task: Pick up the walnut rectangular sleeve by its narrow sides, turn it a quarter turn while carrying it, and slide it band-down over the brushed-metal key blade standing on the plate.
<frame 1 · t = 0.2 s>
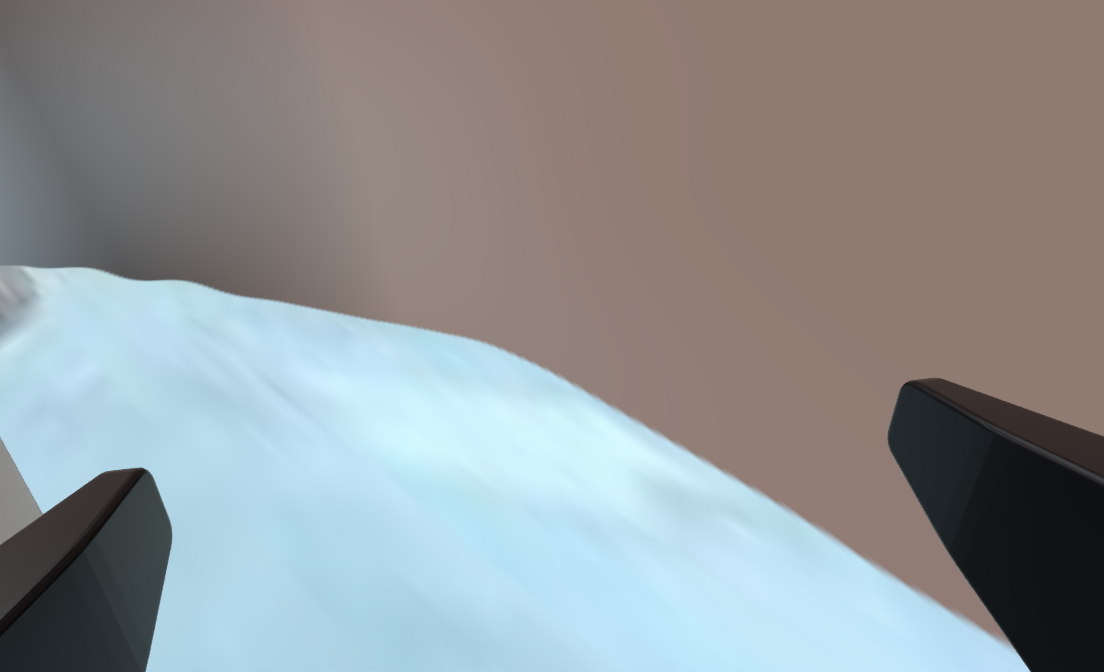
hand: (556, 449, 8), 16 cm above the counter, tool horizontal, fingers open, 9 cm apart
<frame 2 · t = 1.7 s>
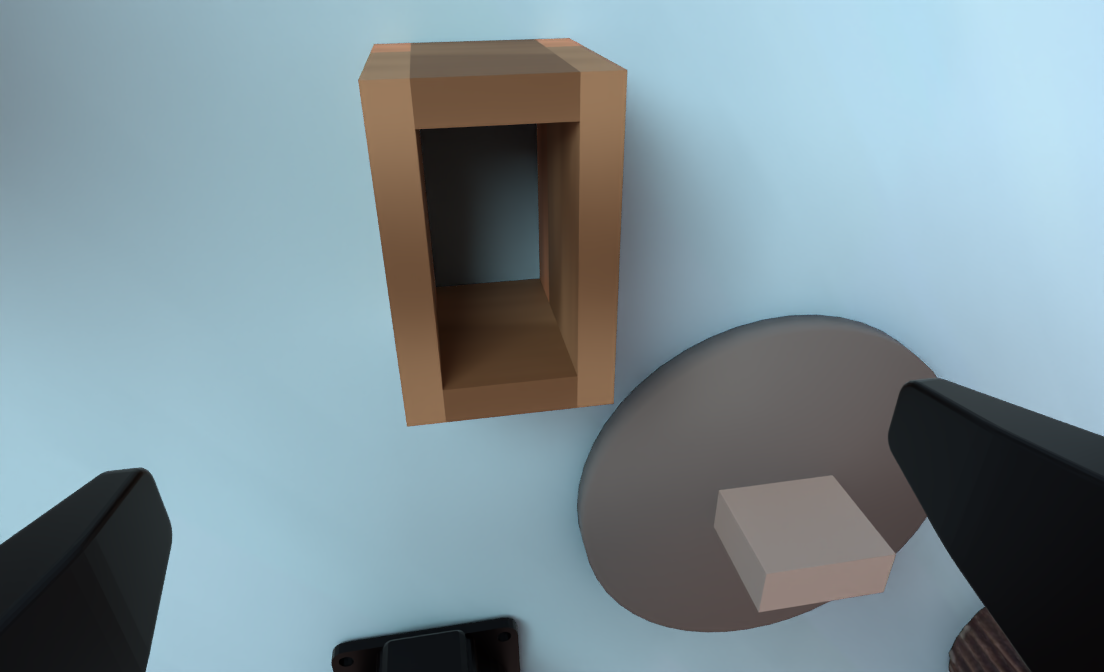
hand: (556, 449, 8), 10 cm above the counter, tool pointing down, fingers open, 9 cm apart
walnut sleeve: (482, 188, 17), on the counter
cupcake: (1023, 628, 32), on the counter
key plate: (759, 481, 24), on the counter
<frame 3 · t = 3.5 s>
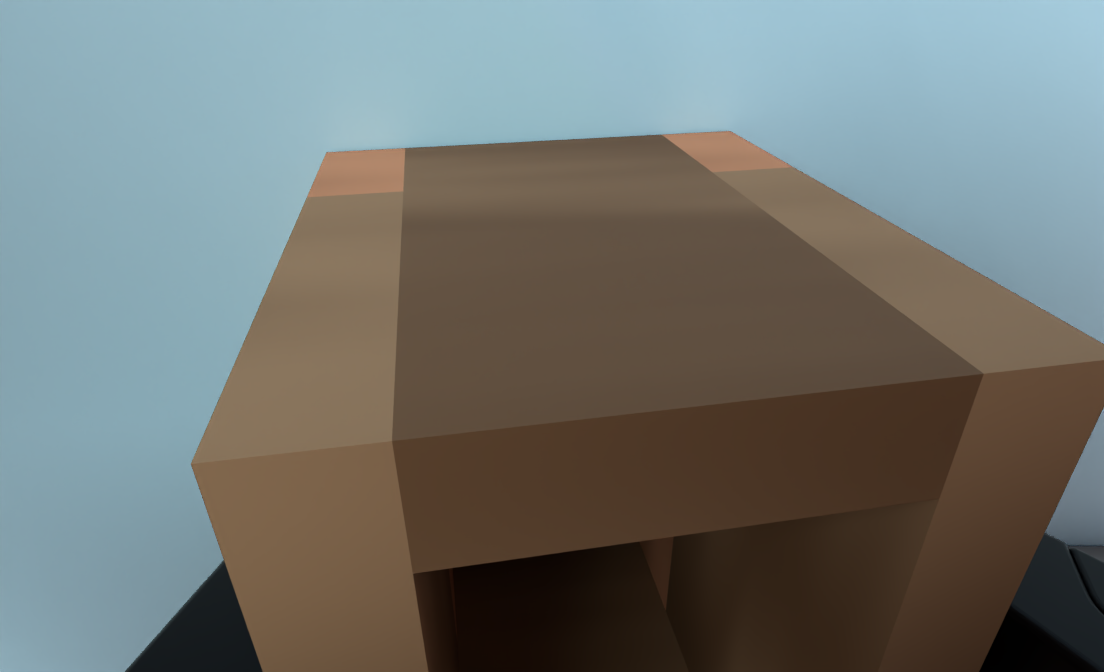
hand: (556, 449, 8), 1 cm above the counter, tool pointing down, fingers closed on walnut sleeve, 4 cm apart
walnut sleeve: (542, 400, 9), on the counter, touching gripper
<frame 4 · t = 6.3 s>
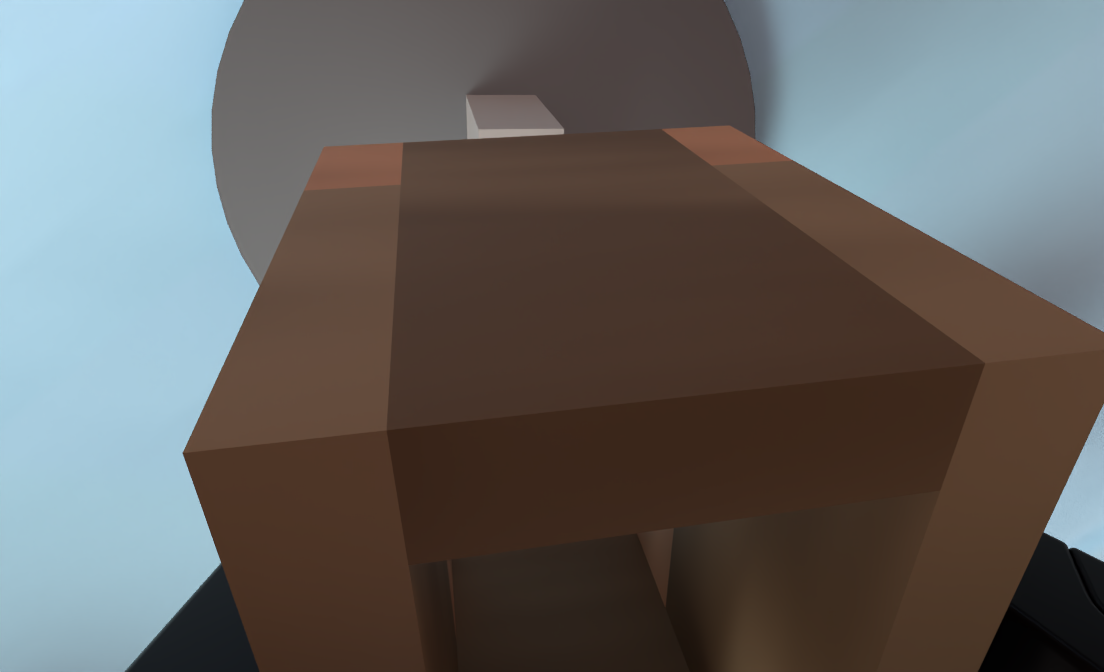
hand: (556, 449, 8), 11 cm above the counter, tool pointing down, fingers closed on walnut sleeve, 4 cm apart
walnut sleeve: (541, 397, 9), point 10 cm above the counter, touching gripper
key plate: (497, 169, 18), on the counter
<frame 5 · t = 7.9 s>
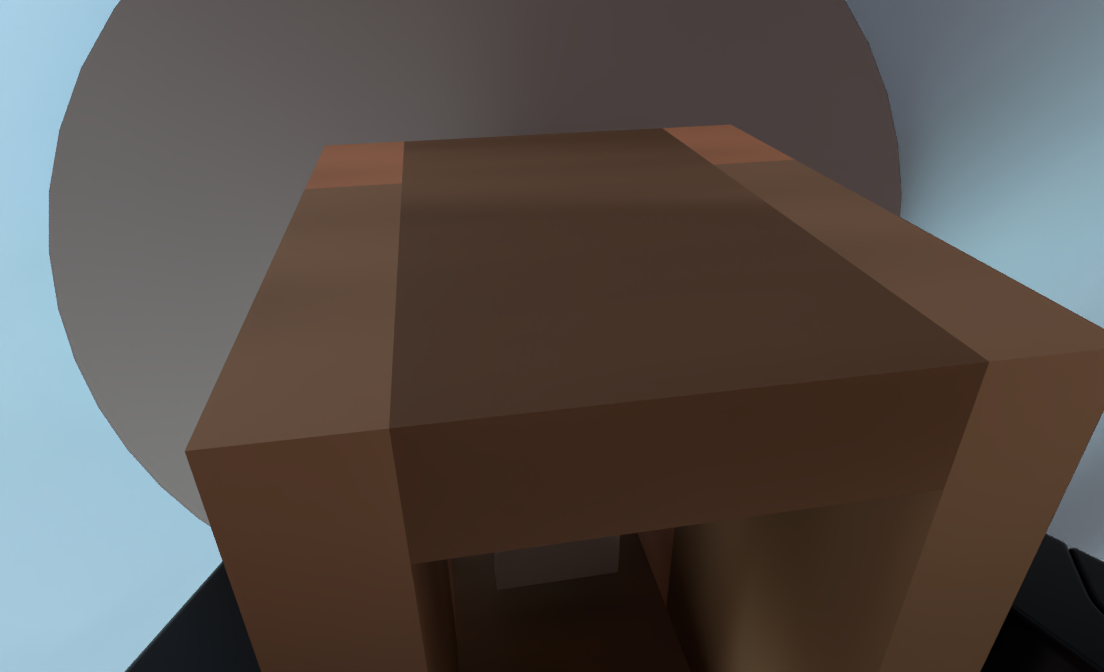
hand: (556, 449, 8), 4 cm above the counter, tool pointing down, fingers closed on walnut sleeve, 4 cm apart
walnut sleeve: (542, 396, 9), point 3 cm above the counter, touching gripper
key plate: (510, 293, 12), on the counter
when the fingers open (3 cm above the counter, at t = 9.2 s): walnut sleeve drops 1 cm, resting on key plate.
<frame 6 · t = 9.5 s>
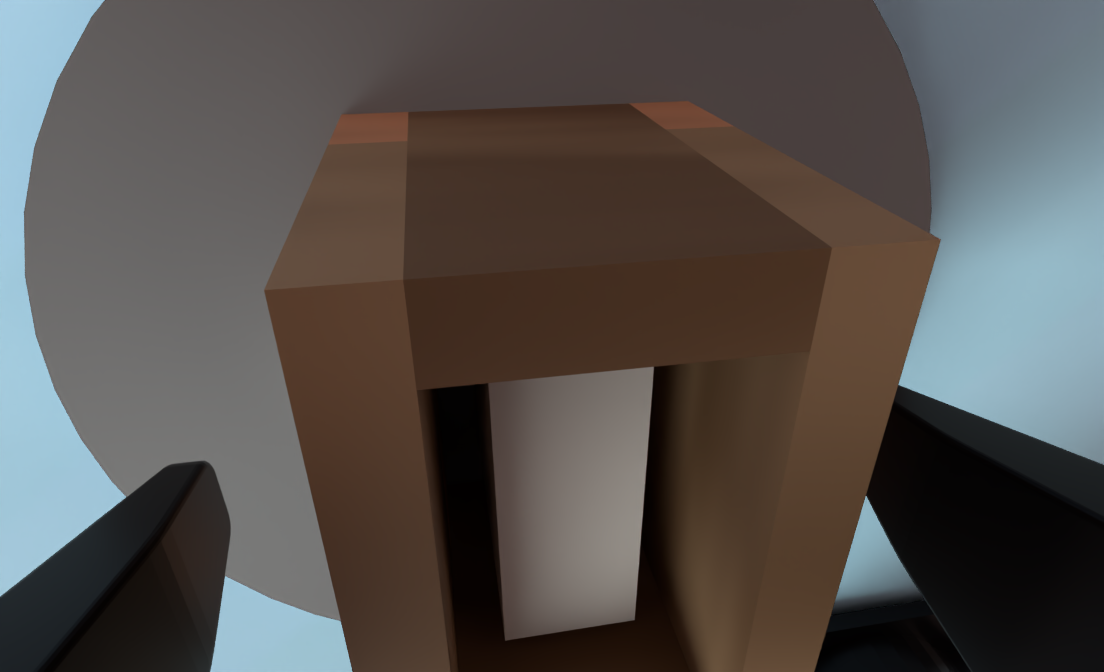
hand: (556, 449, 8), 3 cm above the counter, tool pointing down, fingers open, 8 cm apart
walnut sleeve: (527, 341, 10), point 1 cm above the counter, touching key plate
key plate: (517, 314, 11), on the counter
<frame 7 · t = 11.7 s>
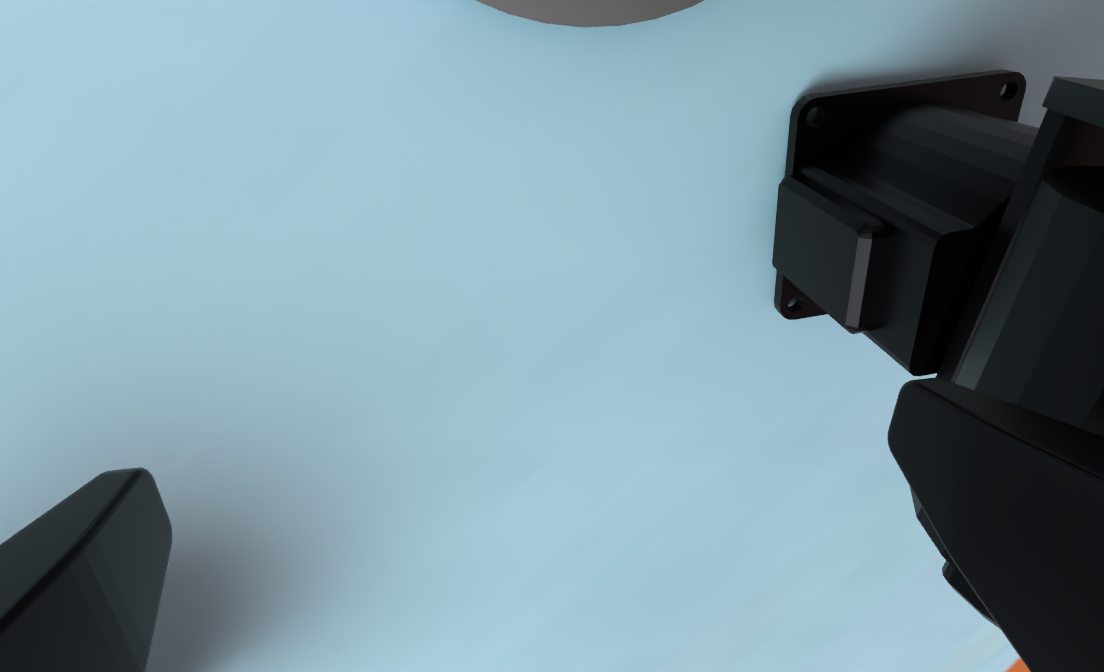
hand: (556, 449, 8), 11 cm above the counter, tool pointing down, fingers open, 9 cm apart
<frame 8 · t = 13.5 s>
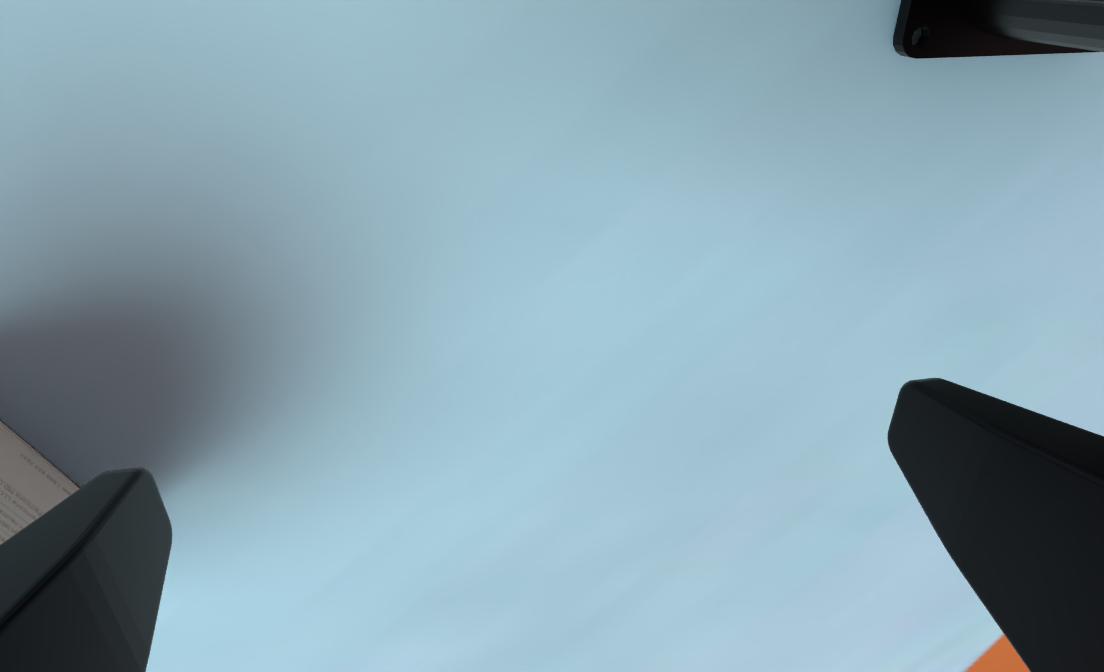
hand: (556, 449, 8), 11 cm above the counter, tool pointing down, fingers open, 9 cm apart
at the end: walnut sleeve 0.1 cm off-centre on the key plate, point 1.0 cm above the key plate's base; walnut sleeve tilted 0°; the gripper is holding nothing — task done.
